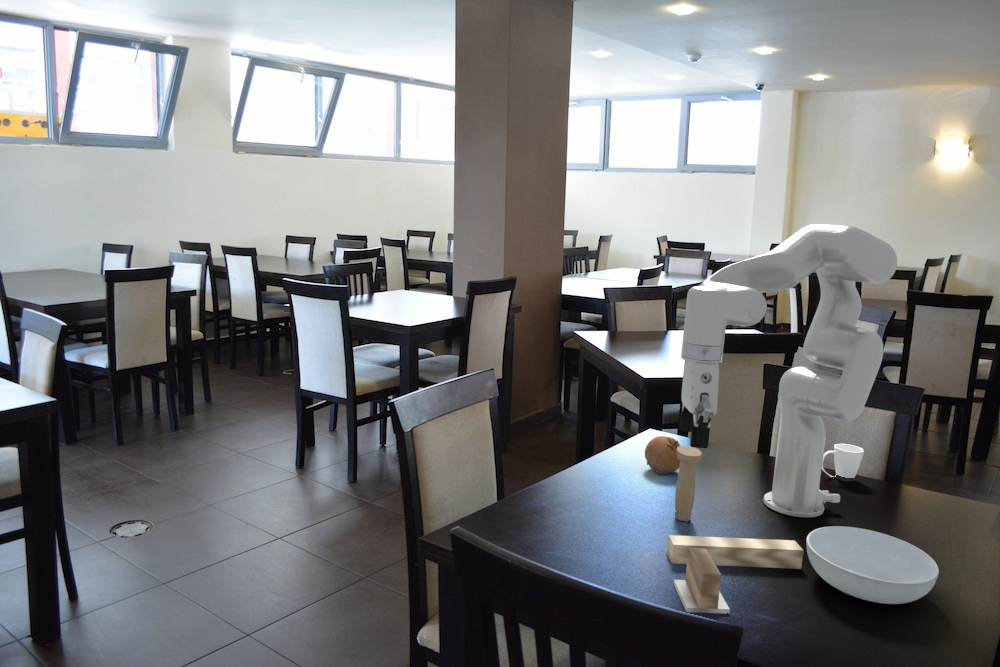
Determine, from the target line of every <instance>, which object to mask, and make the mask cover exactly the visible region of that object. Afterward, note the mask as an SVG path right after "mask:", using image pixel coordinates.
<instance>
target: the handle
mask: <svg viewBox="0 0 1000 667" xmlns="http://www.w3.org/2000/svg"><path fill="white" fill-rule="evenodd" d="M676 455H677V458H678V459H680V467H679V469H678V474H677V475H678V476H677V480H676V488H675V498H674V510H675V512H674V517H675V519H677V520H678V521H680V522H688V521H689V520H691V519H692V518H691V517H692V512H693V508H694V503H695V495H696V494H695V493H696V468H697V463H698V462H700V461H701V459H702V455H703V454H702V451H701V450H700V448H694V447H691V446H690V445H680V446H678V447H677V451H676Z"/></svg>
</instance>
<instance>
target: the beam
mask: <svg viewBox="0 0 1000 667" xmlns="http://www.w3.org/2000/svg"><path fill="white" fill-rule="evenodd" d="M688 548H703V549H706V550H707V552H708V553H709V555H710V557H711V558H712V560H713V562H714V563H715V565H716V566H726V567H728V566H729V567H745V568H746V567H748V568H749V567H750V568H751V567H753V568H769V569H770V568H774V569H776V568H777V569H797V570H802V566H803V556H804V549H803V548H802V547H801V546H800V545H799V544H798V542H797V541H796V540H793V539H792V540H789V539H769V538H746V537H745V538H743V537H722V536H721V537H720V536H718V537H717V536H696V535H695V536H694V535H674V534H673V535H672V534H671V535H670V534H668V536H667V547H666V555H667V556H668V559H669V561H670V563H671V564H678V565H679V564H680V565H681V564H682V565H687V557H688Z"/></svg>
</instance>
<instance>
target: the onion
mask: <svg viewBox="0 0 1000 667" xmlns="http://www.w3.org/2000/svg"><path fill="white" fill-rule="evenodd" d="M678 446H681V444H680V443H679V441H678V440H676V439H675V438H673V437H669V436H666V435H665V436H663V435H661V436H660V435H659V436H656V437H654V438H652V439H651V440H650V441H649V442H648V443H647V444H646V446H645V450H644V458H645V460H646V465H647V466H649V468H650V469H651V470H653V471H654V472H655V473H657V474H662V475H664V474H665V475H666V474H667V475H669V474H673V473H675V472H676V471H677V470H678V471H679V467H680V459H678V458H677V455H676V451H677V447H678Z"/></svg>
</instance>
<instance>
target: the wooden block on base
mask: <svg viewBox="0 0 1000 667" xmlns="http://www.w3.org/2000/svg"><path fill="white" fill-rule="evenodd" d="M721 580H722V573H721V572H720V570H719V568H718V566H717V565H715V563H714V562H713V560H712V558H711V557H710V555H709V553H708V552H707V550H706V549H703V548H688V557H687V564H686V569H685V579H673V586H674V588H675V590H676V593H677V594H678V598H679V599H680V602H681V603H682V605H683V607H684V610H685V612H686V613H697V614H698V613H699V614H700V613H701V614H702V613H703V614H724V615H727V613H728V615H729V614H730V612H731V608H730V607H729V606H728V604H727V601H726V600H725V599H724V596H723V594H722V593H721V591H720V590H721Z"/></svg>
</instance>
